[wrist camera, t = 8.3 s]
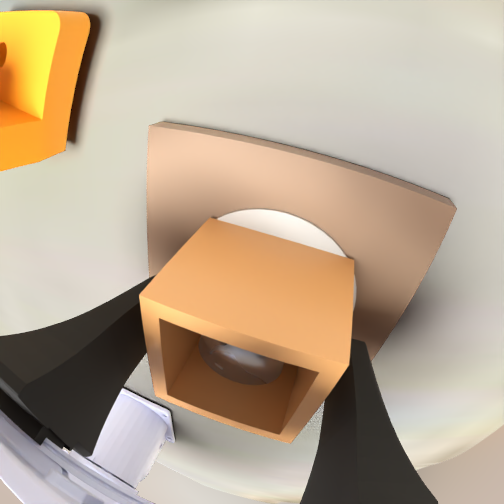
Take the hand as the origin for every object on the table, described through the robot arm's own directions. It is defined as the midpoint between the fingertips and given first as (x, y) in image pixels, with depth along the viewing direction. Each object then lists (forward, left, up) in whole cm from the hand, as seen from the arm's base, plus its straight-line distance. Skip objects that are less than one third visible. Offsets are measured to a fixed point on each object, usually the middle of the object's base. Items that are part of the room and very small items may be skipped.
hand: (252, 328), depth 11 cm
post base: (0, 0, -3) cm, 3 cm away
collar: (0, 0, -2) cm, 2 cm away
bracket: (+9, +16, -4) cm, 19 cm away
